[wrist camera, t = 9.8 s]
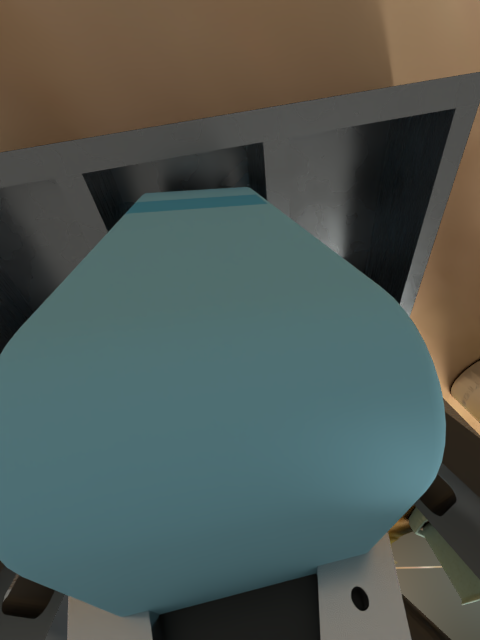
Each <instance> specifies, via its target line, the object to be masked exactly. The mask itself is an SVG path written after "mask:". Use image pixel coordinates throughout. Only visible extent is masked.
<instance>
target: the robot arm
mask: <svg viewBox="0 0 480 640" xmlns="http://www.w3.org/2000/svg"><path fill="white" fill-rule="evenodd" d="M451 394H452V396H453V397H454V398H455V399H456V400H457V401H458V402H459V403H460V404H461V405H462V406H463V407H464V408H465V409H466V410H467V411H468V412H469V413H470V414H471V415H472V416H473V417H474V418H475V419H476V420H477V421H478V422H479V423H480V361H478V362H476V363H475V364H473V365H472V366H471V367H469V368H468V369H467V370H465V371H464V372H463V373H462V374H461V375H460V376H459V377H458V378H457V379H456V381H455V382H454V384H453V386H452V388H451ZM445 420H446V436H445V448H444V453H443V458H442V463H441V465H440V468H439V470H438V473H437V476H436V478H435V479H434V481H433V482H432V484H431V485H430V487H429V488H428V489H427V491H426V492H425V493H424V494H423V495H422V496H421V497H420V498H419V499H418V500H417V501H416V502H415V503H414V505H415V506H416V507H417V508H418V510H419V511H420V512H421V513H422V514H423V515H424V516H425V518H426V519H427V520H428V521H429V522H430V523H431V525H432V526H433V527H434V528H435V529H436V530H437V531H438V533H439V534H440V535H441V536H442V537H443V538H444V539H445V541H446V542H447V543H448V544H449V545H450V546H451V547H452V549H453V550H454V551H455V552H456V553H457V554H458V556H459V557H460V558H461V559H462V560H463V561H464V562H465V564H466V565H467V566H468V567H469V568H470V569H471V570H472V572H473V573H474V574H475V575H476V576H477V577H478V579H479V580H480V438H479V437H478V436H476V435H475V434H474V433H472V432H471V431H470V430H468V429H467V428H466V427H465V426H463V425H462V424H461V423H459V422H458V421H457V420H455V419H454V418H453V417H451V416H450V415H449V414H448V413H446V412H445ZM16 574H17V573H15V572H13V571H12V570H10V569H8V568H7V567H6V566H5V565H4V564H3V563H2V562H1V561H0V640H45V638H46V636H47V633H48V631H49V629H50V626H51V624H52V622H53V620H54V617H55V615H56V613H57V611H58V608H59V606H60V603H61V601H62V599H63V597H64V595H65V594H63V593H61V592H58V591H56V590H53V589H51V588H48V587H46V586H43V585H41V584H39V583H36V582H34V581H31V580H29V579H26V578H24V577H22V576H20V575H19V576H18V578H17V580H16V582H15V584H14V585H13V587H12V589H11V591H10V593H9V594H8V596H7V598H6V599H5V600H4V602H3V599H4V597H5V594H6V592H7V590H8V589H9V587H10V585H11V583H12V581H13V580H14V578H15V576H16ZM68 599H69V600H68V636H67V640H451V639H450V638H448V636H447V635H446V634H444V633H443V632H442V631H441V630H440V629H439V628H438V627H437V626H436V625H435V624H434V623H433V622H432V621H430V620H429V619H428V618H427V617H426V616H425V615H424V614H423V613H422V612H421V611H420V610H419V609H417V608H416V607H415V606H414V605H413V604H412V603H411V602H410V601H409V600H408V599H407V598H406V597H405V596H404V595H402V594H401V590H400V585H399V581H398V577H397V572H396V567H395V563H394V558H393V554H392V549H391V545H390V540H389V536H388V532H387V533H386V534H385V535H384V536H383V537H382V538H381V539H380V540H379V541H378V542H377V543H376V544H375V545H374V546H373V547H372V548H371V549H370V551H368V552H367V553H365V554H362V555H358V556H354V557H350V558H347V559H343V560H339V561H335V562H331V563H327V564H324V565H320V566H317V570H316V574H312V575H308V576H304V577H301V578H297V579H293V580H289V581H285V582H282V583H278V584H274V585H270V586H266V587H263V588H259V589H255V590H251V591H247V592H243V593H240V594H236V595H232V596H228V597H224V598H221V599H217V600H213V601H209V602H205V603H202V604H198V605H194V606H190V607H186V608H183V609H179V610H175V611H171V612H167V613H164V614H160V615H159V614H158V613H155V612H152V611H149V610H148V611H144V612H140V613H136V614H132V615H129V616H124V617H120V616H117V615H115V614H112V613H110V612H107V611H105V610H102V609H100V608H97V607H95V606H93V605H90V604H88V603H85V602H83V601H80V600H78V599H75V598H73V597H70V596H69V598H68Z"/></svg>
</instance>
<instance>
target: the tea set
mask: <svg viewBox="0 0 480 640" xmlns="http://www.w3.org/2000/svg"><path fill="white" fill-rule="evenodd" d="M409 524H410V526H411V528H412V530H413V532H414V533H415V534H417V535H419V536H422V537H424V538H426V540H427V542H428V543H429V545H430V547H431V548H432V550H433V552H434V554H435V555H436V557H437V559H438V560H439V562H440V563H441V565H442V567H443V569H444V570H445V572H446V574H447V576H448V577H449V579H450V581H451V582H452V584H453V585H454V587H455V589H456V591H457V592H458V594H459V596H460V598H461V599H462V603H461V604H462V605H464V604H468V603H472V602H475V601H479V600H480V580H479V579H478V577H477V576H476V575H475V574H474V573H473V572H472V570H471V569H470V568H469V567H468V566H467V565H466V564H465V562H464V561H463V560H462V559H461V558H460V557H459V556H458V554H457V553H456V552H455V551H454V550H453V549H452V547H451V546H450V545H449V544H448V543H447V542H446V541H445V539H444V538H443V537H442V536H441V535H440V534H439V533H438V531H437V530H436V529H435V528H434V527H433V526H432V525H431V523H430V522H429V521H428V520H427V519H426V518H425V516H424V515H423V514H422V513H421V512H420V511H419V510H418V508H417V507H416V508H415V509H414V511H413V512H412V514H411V516H410V517H409Z"/></svg>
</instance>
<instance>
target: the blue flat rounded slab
mask: <svg viewBox="0 0 480 640" xmlns="http://www.w3.org/2000/svg"><path fill="white" fill-rule="evenodd" d="M445 436H446V420H445V409H444V401H443V396H442V392H441V387H440V382H439V379H438V376H437V373H436V369H435V366H434V363H433V361H432V358H431V356H430V354H429V351H428V349H427V346H426V344H425V342H424V340H423V338H422V337H421V335H420V333H419V331H418V329H417V328H416V326H415V324H414V323H413V321H412V320H411V319H410V317H409V316H408V314H407V313H406V311H405V310H404V309H403V308H402V307H401V306H400V304H399V303H398V302H397V301H396V300H395V299H394V298H393V297H392V296H391V295H390V294H389V293H388V292H386V291H385V290H384V289H383V288H382V287H380V286H379V285H378V284H377V283H375V282H374V281H373V280H371V279H370V278H369V277H367V276H366V275H365V274H363V273H362V272H361V271H359V270H358V269H357V268H355V267H354V266H353V265H351V264H350V263H349V262H347V261H346V260H345V259H344V258H342V257H341V256H340V255H338V254H337V253H336V252H334V251H333V250H332V249H330V248H329V247H328V246H326V245H325V244H324V243H322V242H321V241H320V240H318V239H317V238H316V237H314V236H313V235H312V234H310V233H309V232H308V231H307V230H305V229H304V228H303V227H301V226H300V225H299V224H297V223H296V222H295V221H293V220H292V219H291V218H289V217H288V216H287V215H285V214H284V213H283V212H281V211H280V210H279V209H277V208H276V207H275V206H274V205H272V204H271V203H270V202H268V201H267V200H266V199H264V198H263V197H262V196H260V195H259V194H258V193H256V192H255V191H254V190H252V189H251V188H249V187H237V188H220V189H204V190H188V191H172V192H156V193H145V194H143V195H142V196H141V197H140V198H139V199H138V200H137V201H136V203H135V204H134V205H133V206H132V207H131V208H130V209H129V210H128V211H127V212H126V213H125V215H124V216H123V217H122V218H121V219H120V220H119V221H118V222H117V223H116V224H115V225H114V226H113V228H112V229H111V230H110V231H109V232H108V233H107V234H106V235H105V236H104V237H103V238H102V239H101V241H100V242H99V243H98V244H97V245H96V246H95V247H94V248H93V249H92V250H91V251H90V252H89V254H88V255H87V256H86V257H85V258H84V259H83V260H82V261H81V262H80V263H79V264H78V265H77V267H76V268H75V269H74V270H73V271H72V272H71V273H70V274H69V275H68V276H67V277H66V278H65V280H64V281H63V282H62V283H61V284H60V285H59V286H58V287H57V288H56V289H55V290H54V292H53V293H52V294H51V295H50V296H49V297H48V298H47V299H46V300H45V301H44V302H43V303H42V305H41V306H40V307H39V308H38V309H37V310H36V311H35V312H34V313H33V314H32V315H31V316H30V318H29V319H28V320H27V321H26V322H25V323H24V324H23V325H22V326H21V327H20V328H19V329H18V331H17V332H16V333H15V334H14V336H13V337H12V338H11V339H10V341H9V342H8V343H7V345H6V346H5V348H4V349H3V351H2V353H1V354H0V561H1V562H2V563H3V564H4V565H5V566H6V567H7V568H8V569H10V570H12V571H13V572H15V573H17V574H18V575H20V576H22V577H24V578H26V579H29V580H31V581H34V582H36V583H39V584H41V585H43V586H46V587H48V588H51V589H53V590H56V591H58V592H61V593H63V594H66V595H68V596H70V597H73V598H75V599H78V600H80V601H83V602H85V603H88V604H90V605H93V606H95V607H97V608H100V609H102V610H105V611H107V612H110V613H112V614H115V615H117V616H120V617H124V616H129V615H132V614H136V613H140V612H144V611H148V610H149V611H152V612H155V613H158V614H159V615H160V614H164V613H167V612H171V611H175V610H179V609H183V608H186V607H190V606H194V605H198V604H202V603H205V602H209V601H213V600H217V599H221V598H224V597H228V596H232V595H236V594H240V593H243V592H247V591H251V590H255V589H259V588H263V587H266V586H270V585H274V584H278V583H282V582H285V581H289V580H293V579H297V578H301V577H304V576H308V575H312V574H316V570H317V566H320V565H324V564H327V563H331V562H335V561H339V560H343V559H347V558H350V557H354V556H358V555H362V554H365V553H367V552H368V551H370V549H371V548H372V547H373V546H374V545H375V544H376V543H377V542H378V541H379V540H380V539H381V538H382V537H383V536H384V535H385V534H386V533H387V532H388V531H389V530H390V528H391V527H392V526H393V525H394V524H395V523H396V522H397V521H398V520H399V519H400V518H401V517H402V516H403V515H404V514H405V513H406V512H407V511H408V510H409V509H410V507H411V506H412V505H413V504H414V503H415V502H416V501H417V500H418V499H419V498H420V497H421V496H422V495H423V494H424V493H425V492H426V491H427V489H428V488H429V487H430V485H431V484H432V482H433V481H434V479H435V478H436V476H437V473H438V470H439V468H440V465H441V463H442V458H443V453H444V448H445Z"/></svg>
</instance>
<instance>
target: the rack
mask: <svg viewBox="0 0 480 640" xmlns="http://www.w3.org/2000/svg"><path fill="white" fill-rule="evenodd" d="M479 103H480V72H476V73H470V74H464V75H458V76H453V77H447V78H441V79H435V80H429V81H423V82H417V83H411V84H405V85H399V86H393V87H387V88H381V89H375V90H369V91H363V92H357V93H352V94H346V95H340V96H334V97H328V98H322V99H316V100H310V101H304V102H298V103H292V104H286V105H280V106H274V107H268V108H262V109H256V110H250V111H245V112H239V113H233V114H227V115H221V116H215V117H209V118H203V119H197V120H191V121H185V122H179V123H173V124H167V125H161V126H155V127H149V128H143V129H138V130H132V131H126V132H120V133H114V134H108V135H102V136H96V137H90V138H84V139H78V140H72V141H66V142H60V143H54V144H48V145H42V146H36V147H31V148H25V149H19V150H13V151H7V152H1V153H0V354H1V353H2V351H3V349H4V348H5V346H6V345H7V343H8V342H9V341H10V339H11V338H12V337H13V336H14V334H15V333H16V332H17V331H18V329H19V328H20V327H21V326H22V325H23V324H24V323H25V322H26V321H27V320H28V319H29V318H30V316H31V315H32V314H33V313H34V312H35V311H36V310H37V309H38V308H39V307H40V306H41V305H42V303H43V302H44V301H45V300H46V299H47V298H48V297H49V296H50V295H51V294H52V293H53V292H54V290H55V289H56V288H57V287H58V286H59V285H60V284H61V283H62V282H63V281H64V280H65V278H66V277H67V276H68V275H69V274H70V273H71V272H72V271H73V270H74V269H75V268H76V267H77V265H78V264H79V263H80V262H81V261H82V260H83V259H84V258H85V257H86V256H87V255H88V254H89V252H90V251H91V250H92V249H93V248H94V247H95V246H96V245H97V244H98V243H99V242H100V241H101V239H102V238H103V237H104V236H105V235H106V234H107V233H108V232H109V231H110V230H111V229H112V228H113V226H114V225H115V224H116V223H117V222H118V221H119V220H120V219H121V218H122V217H123V216H124V215H125V213H126V212H127V211H128V210H129V209H130V208H131V207H132V206H133V205H134V204H135V203H136V201H137V200H138V199H139V198H140V197H141V196H142V195H143V194H145V193H156V192H172V191H188V190H204V189H220V188H237V187H249V188H251V189H252V190H254V191H255V192H256V193H258V194H259V195H260V196H262V197H263V198H264V199H266V200H267V201H268V202H270V203H271V204H272V205H274V206H275V207H276V208H277V209H279V210H280V211H281V212H283V213H284V214H285V215H287V216H288V217H289V218H291V219H292V220H293V221H295V222H296V223H297V224H299V225H300V226H301V227H303V228H304V229H305V230H307V231H308V232H309V233H310V234H312V235H313V236H314V237H316V238H317V239H318V240H320V241H321V242H322V243H324V244H325V245H326V246H328V247H329V248H330V249H332V250H333V251H334V252H336V253H337V254H338V255H340V256H341V257H342V258H344V259H345V260H346V261H347V262H349V263H350V264H351V265H353V266H354V267H355V268H357V269H358V270H359V271H361V272H362V273H363V274H365V275H366V276H367V277H369V278H370V279H371V280H373V281H374V282H375V283H377V284H378V285H379V286H380V287H382V288H383V289H384V290H385V291H386V292H388V293H389V294H390V295H391V296H392V297H393V298H394V299H395V300H396V301H397V302H398V303H399V304H400V306H401V307H402V308H403V309H404V310H405V311H406V313H407V314H408V316H409V317H410V314H411V311H412V308H413V305H414V302H415V299H416V296H417V293H418V290H419V287H420V284H421V281H422V278H423V274H424V271H425V268H426V265H427V262H428V259H429V256H430V253H431V250H432V247H433V244H434V241H435V238H436V235H437V232H438V229H439V225H440V222H441V219H442V216H443V213H444V210H445V207H446V204H447V201H448V198H449V195H450V192H451V189H452V186H453V183H454V180H455V176H456V173H457V170H458V167H459V164H460V161H461V158H462V155H463V152H464V149H465V146H466V143H467V140H468V137H469V134H470V131H471V127H472V124H473V121H474V118H475V115H476V112H477V109H478V106H479ZM443 401H444V409H445V412H446V413H448V414H449V415H450V416H451V417H453V418H454V419H455V420H457V421H458V422H459V423H461V424H462V425H463V426H465V427H466V428H467V429H468V430H470V431H471V432H472V433H474V434H475V435H476V436H478V437H479V438H480V435H479V434H478V433H477V432H476V431H475V430H474V429H473V428H472V427H471V426H470V425H469V424H468V423H467V422H466V421H465V420H464V419H463V418H462V417H461V416H460V415H459V414H458V413H457V412H456V411H455V410H454V409H453V408H452V407H451V406H450V405H449V404H448V403H447V402H446V401H445V400H444V398H443ZM18 576H19V575H18V574H16V576H15V578H14V580H13V581H12V583H11V585H10V587H9V589H8V590H7V592H6V594H5V597H4V598H6V597H7V596H8V594H9V593H10V591H11V589H12V587H13V585H14V584H15V582H16V580H17V578H18Z"/></svg>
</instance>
